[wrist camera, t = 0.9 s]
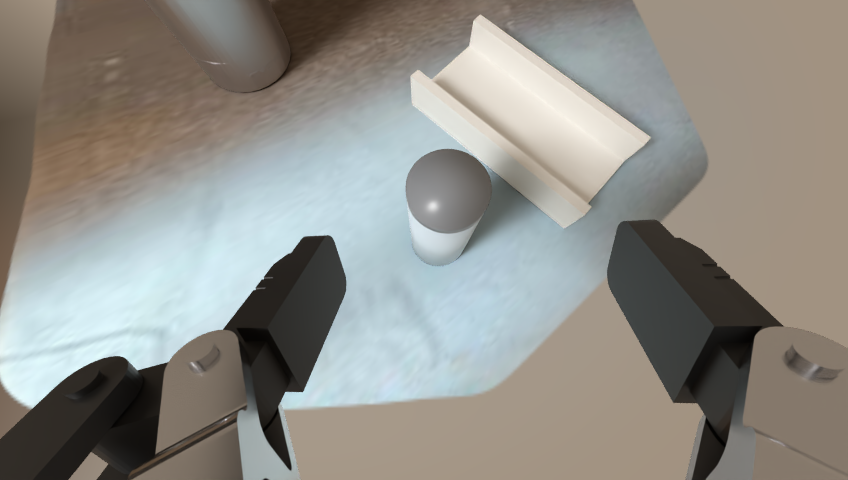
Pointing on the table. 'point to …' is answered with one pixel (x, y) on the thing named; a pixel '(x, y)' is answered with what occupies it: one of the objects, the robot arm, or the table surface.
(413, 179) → the grey capped cylinder
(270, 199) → the table surface
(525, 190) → the tray
